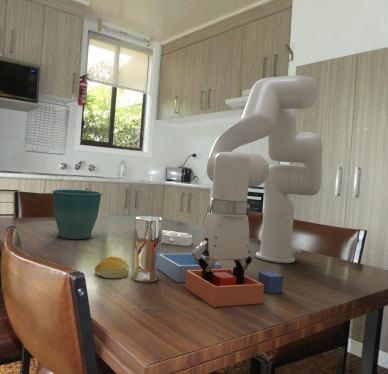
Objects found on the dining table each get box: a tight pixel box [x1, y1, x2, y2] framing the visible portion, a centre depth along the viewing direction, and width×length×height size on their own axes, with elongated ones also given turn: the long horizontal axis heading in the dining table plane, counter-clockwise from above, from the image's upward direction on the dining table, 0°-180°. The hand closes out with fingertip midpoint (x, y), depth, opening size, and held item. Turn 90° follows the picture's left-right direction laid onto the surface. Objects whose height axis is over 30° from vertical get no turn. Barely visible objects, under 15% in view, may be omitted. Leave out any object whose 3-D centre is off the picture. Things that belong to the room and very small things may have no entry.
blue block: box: [257, 270, 284, 295], centre depth 88 cm, size 4×4×4 cm
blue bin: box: [157, 252, 223, 283], centre depth 97 cm, size 12×12×4 cm
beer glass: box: [132, 215, 163, 283], centre depth 91 cm, size 7×7×15 cm
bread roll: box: [94, 256, 130, 279], centre depth 93 cm, size 8×9×4 cm
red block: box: [213, 272, 236, 286], centre depth 82 cm, size 4×4×4 cm
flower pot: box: [51, 189, 103, 240], centre depth 137 cm, size 18×18×17 cm
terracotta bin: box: [184, 268, 264, 308], centre depth 83 cm, size 12×12×4 cm
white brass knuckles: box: [161, 229, 193, 247], centre depth 142 cm, size 3×18×15 cm
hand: (222, 286), depth 83 cm, fingers open, 7 cm apart
